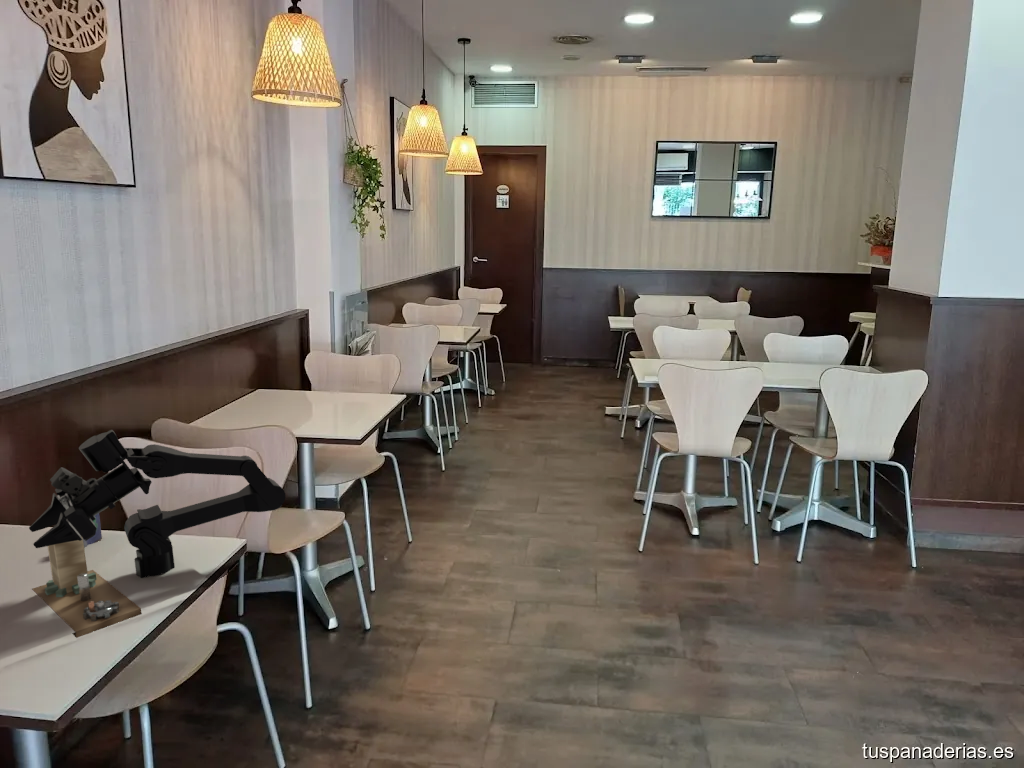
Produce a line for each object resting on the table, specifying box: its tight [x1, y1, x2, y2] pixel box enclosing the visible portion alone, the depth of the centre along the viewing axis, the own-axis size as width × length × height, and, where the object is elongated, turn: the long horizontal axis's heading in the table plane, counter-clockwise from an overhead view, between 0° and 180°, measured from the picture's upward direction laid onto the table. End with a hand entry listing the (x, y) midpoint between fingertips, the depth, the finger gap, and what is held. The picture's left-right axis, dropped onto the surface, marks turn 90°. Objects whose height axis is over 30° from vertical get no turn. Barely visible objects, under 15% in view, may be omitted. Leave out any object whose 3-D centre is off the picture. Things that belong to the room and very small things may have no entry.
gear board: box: [32, 569, 142, 639], centre depth 148 cm, size 11×25×1 cm, turn 47°
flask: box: [83, 513, 103, 549], centre depth 174 cm, size 9×3×11 cm, turn 2°
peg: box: [77, 573, 91, 601], centre depth 147 cm, size 2×2×5 cm
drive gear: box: [83, 600, 119, 621], centre depth 141 cm, size 6×6×3 cm
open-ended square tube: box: [45, 536, 97, 597], centre depth 151 cm, size 9×9×11 cm
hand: (32, 537), depth 145 cm, fingers open, 9 cm apart
